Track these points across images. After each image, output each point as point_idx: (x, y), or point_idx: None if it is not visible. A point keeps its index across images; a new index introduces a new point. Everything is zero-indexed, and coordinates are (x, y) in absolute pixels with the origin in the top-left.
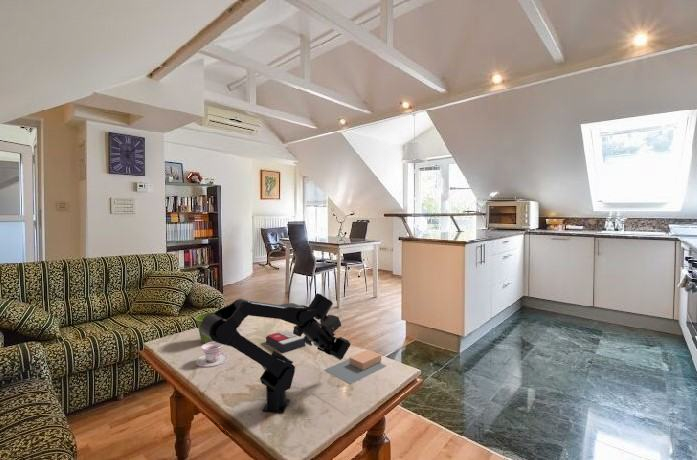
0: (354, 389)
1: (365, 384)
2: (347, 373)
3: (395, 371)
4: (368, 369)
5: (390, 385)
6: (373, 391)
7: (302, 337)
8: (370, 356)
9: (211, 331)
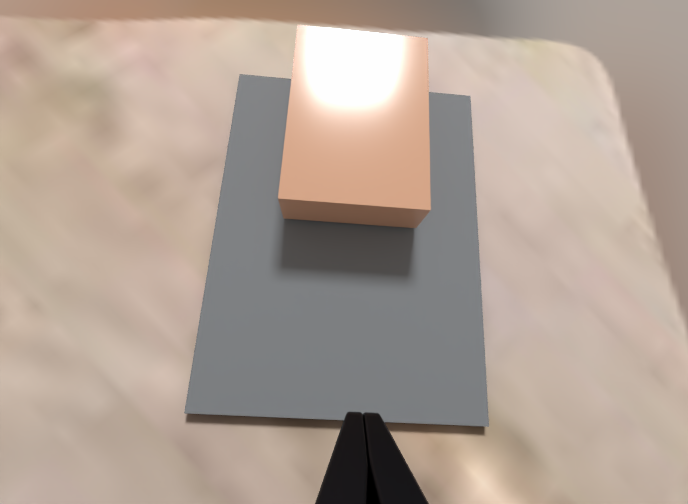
0: (540, 443)
1: (536, 340)
2: (365, 326)
3: (534, 110)
4: None
5: (632, 248)
6: (629, 371)
7: None
8: (391, 95)
9: None
